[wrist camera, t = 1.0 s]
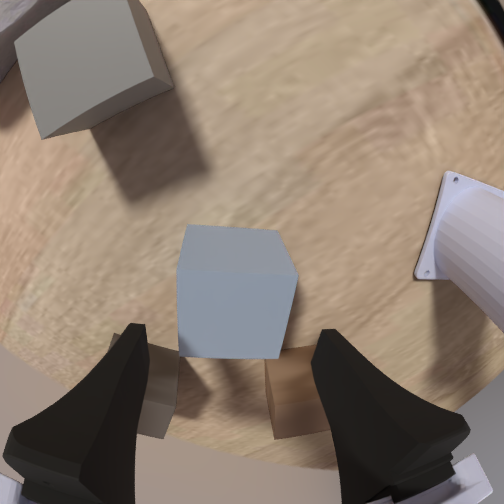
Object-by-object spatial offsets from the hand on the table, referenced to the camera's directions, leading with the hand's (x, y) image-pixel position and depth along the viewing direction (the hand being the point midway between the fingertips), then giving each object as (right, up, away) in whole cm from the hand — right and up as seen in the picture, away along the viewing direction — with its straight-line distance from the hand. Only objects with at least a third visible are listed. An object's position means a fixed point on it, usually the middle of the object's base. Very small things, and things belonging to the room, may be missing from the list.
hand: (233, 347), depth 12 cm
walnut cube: (+4, -5, +11) cm, 13 cm away
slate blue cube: (-1, +3, +6) cm, 7 cm away
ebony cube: (-8, -5, +9) cm, 13 cm away
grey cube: (-6, +13, 0) cm, 15 cm away
